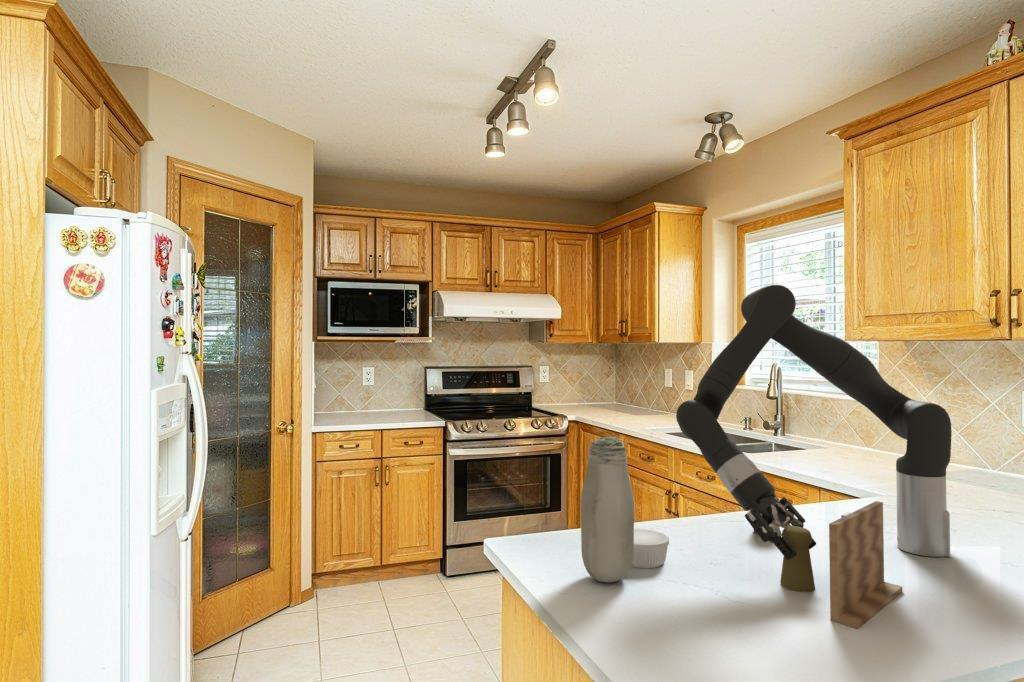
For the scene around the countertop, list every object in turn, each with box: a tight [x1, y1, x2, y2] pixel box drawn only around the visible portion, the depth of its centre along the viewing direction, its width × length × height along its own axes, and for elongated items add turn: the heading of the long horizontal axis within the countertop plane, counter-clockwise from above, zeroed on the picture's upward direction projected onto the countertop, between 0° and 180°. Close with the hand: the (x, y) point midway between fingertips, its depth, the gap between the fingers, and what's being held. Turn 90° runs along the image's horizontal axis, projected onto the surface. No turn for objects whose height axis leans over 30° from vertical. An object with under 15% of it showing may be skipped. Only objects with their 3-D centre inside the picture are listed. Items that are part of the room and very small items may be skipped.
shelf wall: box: [828, 500, 903, 630], centre depth 104 cm, size 22×4×16 cm, turn 131°
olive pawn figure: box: [780, 526, 816, 593], centre depth 113 cm, size 6×6×11 cm
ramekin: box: [631, 528, 670, 569], centre depth 127 cm, size 11×11×5 cm
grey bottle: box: [580, 436, 635, 584], centre depth 117 cm, size 10×10×28 cm
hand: (802, 552), depth 112 cm, fingers open, 8 cm apart
